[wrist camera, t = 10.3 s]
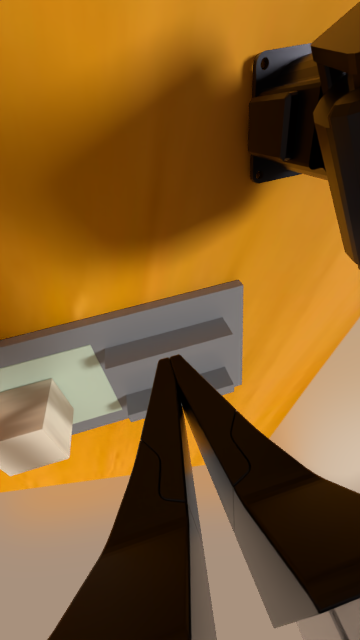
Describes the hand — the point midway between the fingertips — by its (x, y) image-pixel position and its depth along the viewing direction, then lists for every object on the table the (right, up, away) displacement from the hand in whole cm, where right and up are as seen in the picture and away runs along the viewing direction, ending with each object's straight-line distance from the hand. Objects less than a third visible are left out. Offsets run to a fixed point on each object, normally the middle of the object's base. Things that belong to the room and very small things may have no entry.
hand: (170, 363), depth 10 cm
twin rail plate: (-5, -3, +16) cm, 17 cm away
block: (-13, -6, +15) cm, 21 cm away
